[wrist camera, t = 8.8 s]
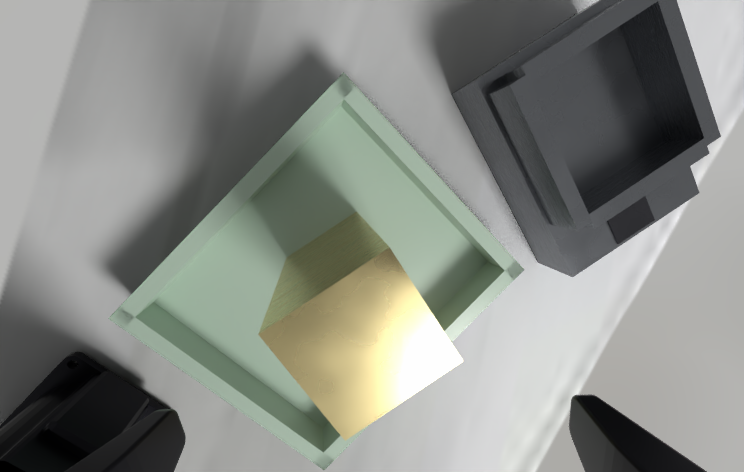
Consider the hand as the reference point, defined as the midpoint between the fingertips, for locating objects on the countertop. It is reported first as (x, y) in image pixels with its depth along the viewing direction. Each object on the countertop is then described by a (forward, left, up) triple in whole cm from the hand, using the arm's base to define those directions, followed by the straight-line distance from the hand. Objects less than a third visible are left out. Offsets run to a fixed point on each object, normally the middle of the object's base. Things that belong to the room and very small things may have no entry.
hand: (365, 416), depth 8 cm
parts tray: (-1, 0, -12) cm, 12 cm away
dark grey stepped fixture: (+14, -4, -12) cm, 19 cm away
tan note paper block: (0, 0, -12) cm, 12 cm away
